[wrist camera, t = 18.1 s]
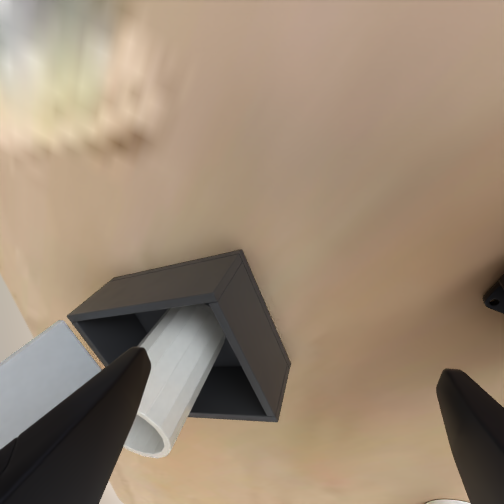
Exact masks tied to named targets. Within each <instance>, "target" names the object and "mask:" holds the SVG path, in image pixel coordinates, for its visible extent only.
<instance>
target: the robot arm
mask: <svg viewBox="0 0 504 504" xmlns="http://www.w3.org/2000/svg"><path fill="white" fill-rule="evenodd" d="M492 299H496V300H495V301H493V302H490V301H491V300H492ZM483 302H484V303H485V305H486V306H487V307H488V308H490V309H493V310H495V311H498V312H501V313H503V314H504V275H503V276H502V277H501V278H500V279H499V281H498V282H497V283H496V284H495V285H494V286H493V287H492V288H491V289H490V290H489V291H488V292H487V293H486V294H485V295H484V296H483ZM150 371H151V362H150V359H149V356H148V354H147V351H146V349H145V348H144V347H131V348H130V349H128V350H127V351H126V352H124V353H123V354H122V355H121V356H119V357H118V358H117V359H116V360H114V361H113V362H112V363H110V364H109V365H108V366H107V367H105V368H104V369H103V370H101V371H100V372H99V373H98V374H96V375H95V376H94V377H92V378H91V379H90V380H89V381H87V382H86V383H85V384H84V385H82V386H81V387H80V388H78V389H77V390H76V391H75V392H73V393H72V394H71V395H69V396H68V397H67V398H66V399H64V400H63V401H62V402H60V403H59V404H58V405H57V406H55V407H54V408H53V409H52V410H50V411H49V412H48V413H46V414H45V415H44V416H43V417H41V418H40V419H39V420H37V421H36V422H35V423H34V424H32V425H31V426H30V427H29V428H27V429H26V430H25V431H23V432H22V433H21V434H20V435H19V436H18V437H16V438H14V439H13V440H12V441H10V442H9V443H8V444H7V445H5V446H4V447H3V448H2V449H0V504H99V502H100V499H101V497H102V495H103V492H104V490H105V488H106V485H107V483H108V481H109V478H110V476H111V474H112V472H113V469H114V467H115V465H116V462H117V460H118V458H119V455H120V453H121V451H122V448H123V446H124V444H125V441H126V439H127V437H128V434H129V432H130V430H131V427H132V425H133V422H134V420H135V418H136V415H137V412H138V409H139V406H140V403H141V400H142V396H143V393H144V390H145V387H146V384H147V381H148V378H149V375H150ZM436 393H437V398H438V401H439V405H440V409H441V413H442V417H443V421H444V424H445V428H446V432H447V436H448V440H449V444H450V447H451V451H452V454H453V457H454V460H455V463H456V465H457V468H458V471H459V474H460V476H461V479H462V482H463V484H464V487H465V490H466V492H467V495H468V498H469V500H470V503H471V504H504V408H503V407H502V406H501V405H500V404H499V403H498V402H497V401H496V400H494V399H493V398H492V397H491V396H490V395H489V394H488V393H487V392H486V391H484V390H483V389H482V388H481V387H480V386H479V385H478V384H477V383H476V382H474V381H473V380H472V379H471V378H470V377H469V376H468V375H467V374H466V373H464V372H463V371H461V370H458V369H444V370H443V371H442V374H441V376H440V379H439V381H438V384H437V387H436Z"/></svg>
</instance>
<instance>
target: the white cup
mask: <svg viewBox="0 0 504 504" xmlns="http://www.w3.org/2000/svg"><path fill="white" fill-rule="evenodd" d="M225 339H226V336H225V334H224V332H223V330H222V328H221V326H220V324H219V322H218V320H217V318H216V316H215V314H214V312H213V311H212V309H211V307H209V306H207V305H206V304H204V303H203V304H196V305H189V306H182V307H175V308H169V309H167V311H166V312H165V313H164V314H163V315H162V317H161V318H160V319H159V320H158V321H157V323H156V324H155V325H154V326H153V328H152V329H151V330H150V331H149V332H148V334H147V335H146V336H145V337H144V338H143V340H142V341H141V342H140V343H139V345H138V346H137V347H144V348H145V349H146V351H147V354H148V356H149V359H150V362H151V371H150V375H149V378H148V381H147V384H146V387H145V390H144V393H143V396H142V400H141V403H140V406H139V409H138V412H137V415H136V418H135V420H134V422H133V425H132V427H131V430H130V432H129V434H128V437H127V439H126V441H125V444H124V446H123V447H124V448H126V449H127V450H130V451H131V452H134V453H137V454H139V455H142V456H145V457H152V458H161V457H165V456H167V455H168V454H169V452H170V451H171V449H172V447H173V445H174V443H175V441H176V439H177V437H178V435H179V433H180V431H181V429H182V427H183V425H184V423H185V421H186V419H187V417H188V415H189V413H190V411H191V409H192V407H193V405H194V403H195V401H196V399H197V397H198V395H199V393H200V391H201V389H202V387H203V385H204V383H205V381H206V379H207V377H208V375H209V373H210V371H211V369H212V367H213V364H214V362H215V360H216V358H217V356H218V354H219V352H220V350H221V348H222V346H223V344H224V342H225Z"/></svg>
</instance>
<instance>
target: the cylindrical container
mask: <svg viewBox="0 0 504 504" xmlns="http://www.w3.org/2000/svg"><path fill="white" fill-rule="evenodd" d="M426 504H471V503H467V502H463V501H458V500H449V499H441V500H434V501H430V502H428V503H426Z"/></svg>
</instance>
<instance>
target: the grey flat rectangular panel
mask: <svg viewBox="0 0 504 504" xmlns="http://www.w3.org/2000/svg"><path fill="white" fill-rule="evenodd" d="M101 370H102V369H101V368H100V367H99V366H98V364H97V363H96V362H95V360H94V359H93V358H92V357H91V355H90V354H89V353H88V351H87V350H86V349H85V348H84V346H83V345H82V344H81V342H80V341H79V340H78V338H77V337H76V336H75V335H74V333H73V332H72V331H71V329H70V328H69V327H68V326H67V324H66V323H65V322H64V321H63V320H58V321H57V322H56V323H54V324H53V325H52V326H50V327H49V328H47V329H46V330H45V331H43V332H42V333H41V334H39V335H38V336H36V337H35V338H34V339H32V340H31V341H30V342H28V343H27V344H25V345H24V346H23V347H21V348H20V349H19V350H18V351H16V352H14V353H13V354H12V355H10V356H9V357H8V358H6V359H5V360H4V361H2V362H1V363H0V449H2V448H3V447H4V446H5V445H7V444H8V443H9V442H10V441H12V440H13V439H14V438H16V437H18V436H19V435H20V434H21V433H22V432H23V431H25V430H26V429H27V428H29V427H30V426H31V425H32V424H34V423H35V422H36V421H37V420H39V419H40V418H41V417H43V416H44V415H45V414H46V413H48V412H49V411H50V410H52V409H53V408H54V407H55V406H57V405H58V404H59V403H60V402H62V401H63V400H64V399H66V398H67V397H68V396H69V395H71V394H72V393H73V392H75V391H76V390H77V389H78V388H80V387H81V386H82V385H84V384H85V383H86V382H87V381H89V380H90V379H91V378H92V377H94V376H95V375H96V374H98V373H99V372H100V371H101Z"/></svg>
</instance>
